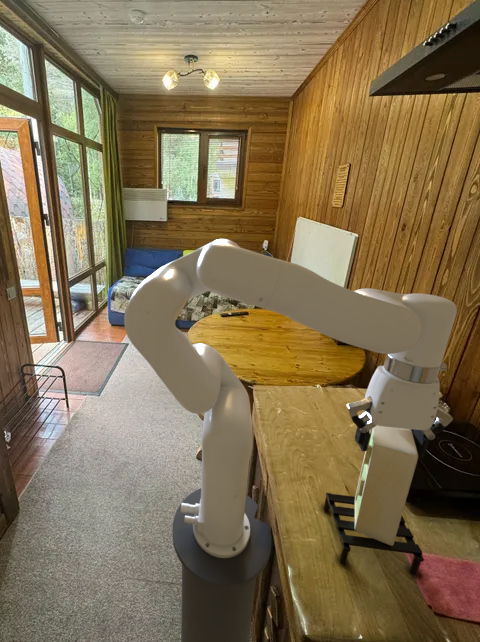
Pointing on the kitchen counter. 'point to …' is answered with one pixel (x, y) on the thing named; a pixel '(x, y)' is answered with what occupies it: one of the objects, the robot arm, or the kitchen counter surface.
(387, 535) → the toy refrigerator
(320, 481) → the kitchen counter surface
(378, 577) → the kitchen counter surface
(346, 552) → the rack
